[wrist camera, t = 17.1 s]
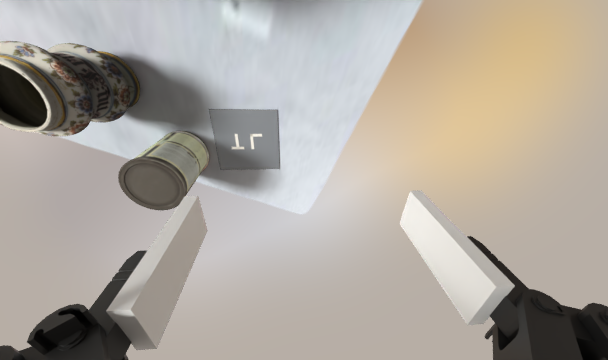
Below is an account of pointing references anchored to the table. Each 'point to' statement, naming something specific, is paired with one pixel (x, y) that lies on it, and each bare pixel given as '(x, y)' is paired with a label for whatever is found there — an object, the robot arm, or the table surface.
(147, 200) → the coffee can
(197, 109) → the table surface
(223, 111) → the gray tile
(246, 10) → the table surface
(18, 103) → the apothecary jar
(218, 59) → the table surface
